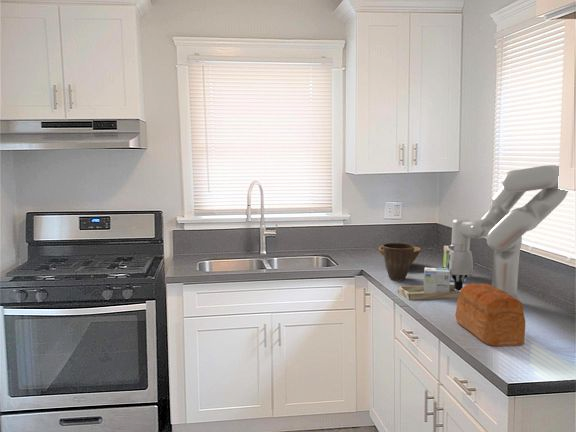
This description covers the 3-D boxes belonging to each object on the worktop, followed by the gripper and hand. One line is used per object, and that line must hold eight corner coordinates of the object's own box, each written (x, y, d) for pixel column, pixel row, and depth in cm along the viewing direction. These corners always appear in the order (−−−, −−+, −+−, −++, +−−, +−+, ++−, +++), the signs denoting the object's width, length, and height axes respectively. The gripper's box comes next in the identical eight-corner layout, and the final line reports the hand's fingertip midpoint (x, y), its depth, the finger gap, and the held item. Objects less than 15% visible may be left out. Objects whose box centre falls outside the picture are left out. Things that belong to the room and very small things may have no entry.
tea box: (466, 282, 253) (468, 251, 251) (444, 280, 255) (445, 250, 253) (462, 275, 268) (464, 245, 266) (441, 273, 270) (443, 244, 268)
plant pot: (418, 281, 253) (419, 248, 251) (388, 282, 250) (389, 248, 248) (405, 274, 267) (406, 242, 266) (377, 275, 264) (377, 243, 263)
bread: (487, 347, 169) (489, 300, 167) (452, 320, 195) (454, 280, 193) (529, 346, 170) (532, 299, 169) (489, 319, 197) (491, 279, 195)
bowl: (368, 265, 288) (369, 247, 287) (397, 260, 302) (398, 243, 300) (400, 273, 271) (400, 253, 269) (429, 267, 284) (430, 248, 283)
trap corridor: (467, 297, 226) (467, 291, 226) (408, 299, 222) (409, 293, 222) (453, 289, 238) (454, 284, 238) (397, 292, 234) (398, 286, 234)
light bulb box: (448, 292, 233) (450, 268, 231) (449, 296, 226) (450, 271, 225) (423, 290, 235) (424, 266, 234) (423, 294, 229) (424, 269, 228)
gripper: (448, 249, 225) (445, 292, 227) (481, 249, 227) (478, 291, 230) (440, 246, 232) (438, 288, 234) (472, 245, 235) (469, 287, 237)
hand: (458, 289), depth 232 cm, fingers closed
